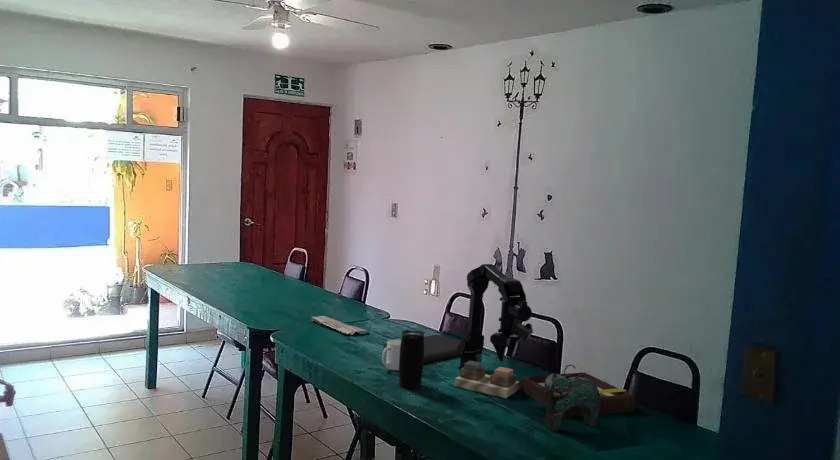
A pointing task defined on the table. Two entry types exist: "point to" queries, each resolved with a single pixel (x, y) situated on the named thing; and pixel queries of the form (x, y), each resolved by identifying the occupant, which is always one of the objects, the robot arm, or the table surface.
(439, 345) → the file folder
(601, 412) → the brown wooden tray
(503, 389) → the key console
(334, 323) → the beige notched slab
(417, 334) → the portable speaker
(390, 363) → the cup
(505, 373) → the terracotta key
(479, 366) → the charcoal key
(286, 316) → the table surface
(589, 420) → the ceramic cat
